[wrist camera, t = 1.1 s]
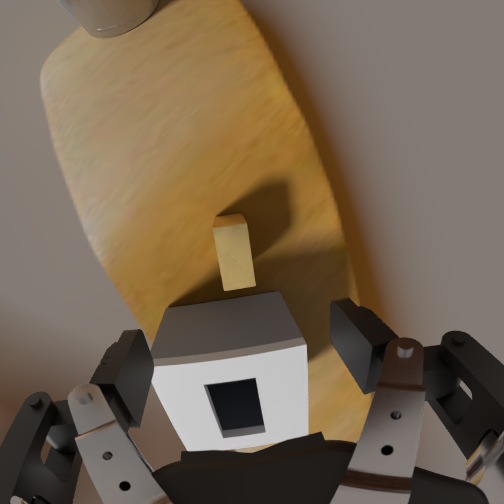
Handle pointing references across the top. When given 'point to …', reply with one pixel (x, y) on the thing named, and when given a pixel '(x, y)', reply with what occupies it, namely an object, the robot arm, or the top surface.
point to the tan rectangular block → (234, 251)
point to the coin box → (232, 372)
